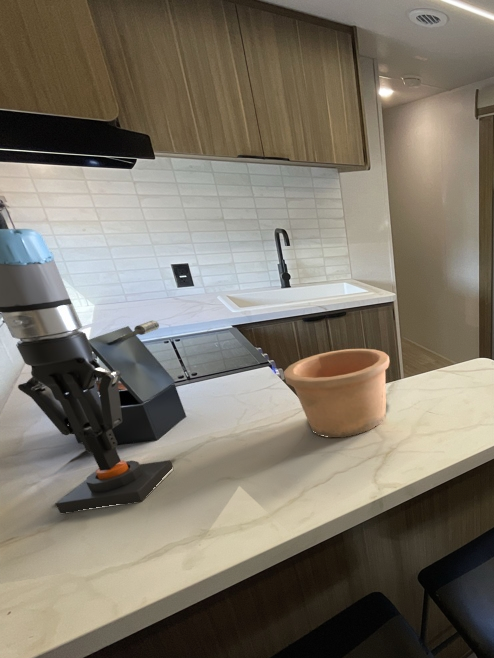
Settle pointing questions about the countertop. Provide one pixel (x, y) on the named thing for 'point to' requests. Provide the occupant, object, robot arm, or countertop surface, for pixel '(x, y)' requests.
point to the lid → (132, 360)
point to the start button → (112, 471)
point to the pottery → (341, 390)
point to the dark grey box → (147, 416)
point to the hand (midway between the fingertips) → (110, 465)
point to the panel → (115, 487)
